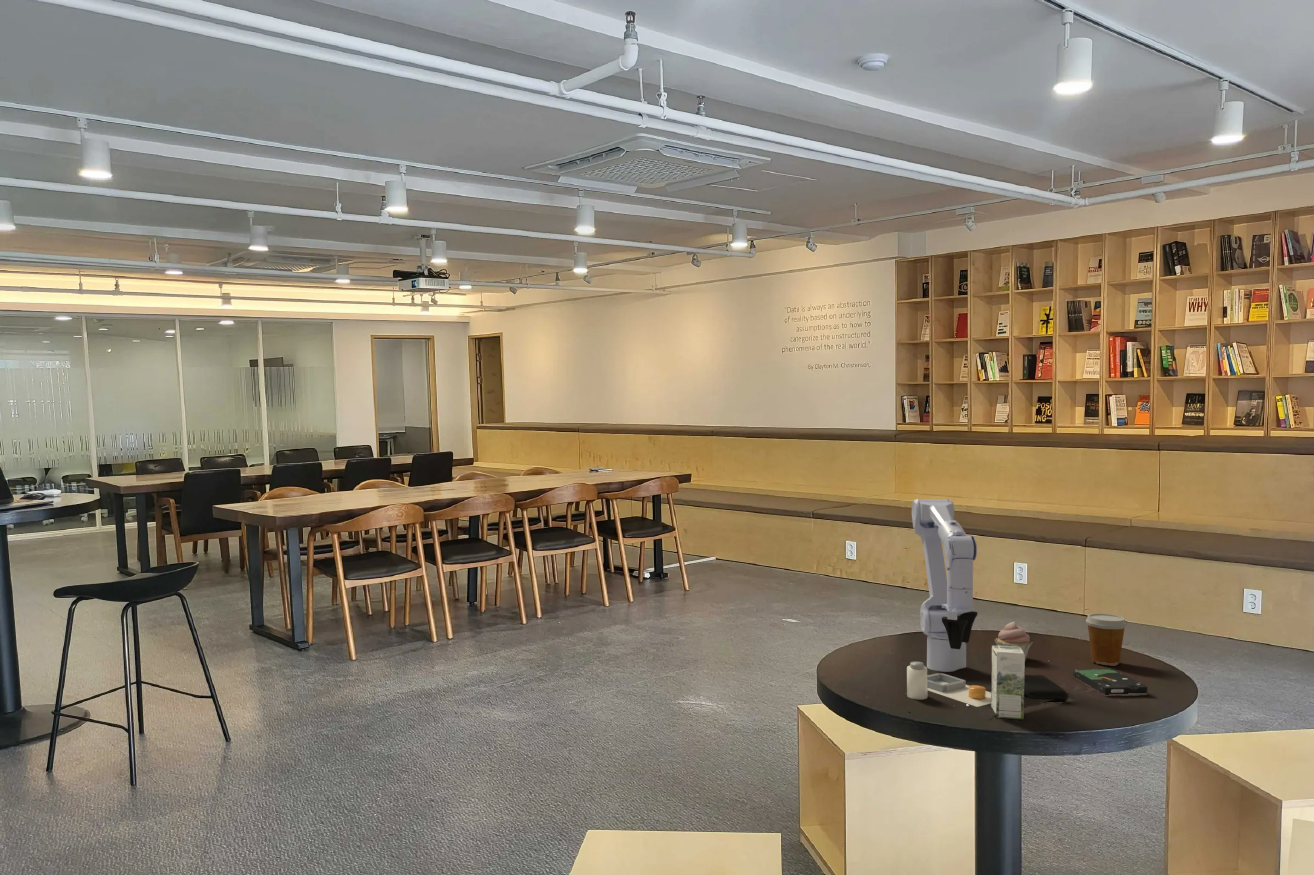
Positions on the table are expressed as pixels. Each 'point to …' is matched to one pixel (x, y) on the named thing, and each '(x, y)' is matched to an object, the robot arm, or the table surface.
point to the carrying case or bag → (1043, 689)
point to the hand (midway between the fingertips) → (959, 645)
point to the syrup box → (1007, 682)
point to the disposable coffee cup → (1106, 636)
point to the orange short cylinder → (977, 692)
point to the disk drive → (1110, 681)
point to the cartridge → (917, 680)
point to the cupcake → (1014, 637)
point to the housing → (954, 689)
